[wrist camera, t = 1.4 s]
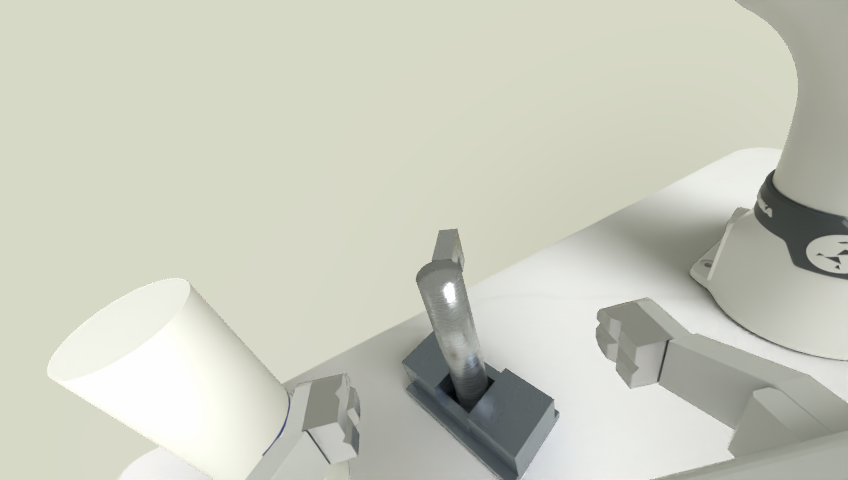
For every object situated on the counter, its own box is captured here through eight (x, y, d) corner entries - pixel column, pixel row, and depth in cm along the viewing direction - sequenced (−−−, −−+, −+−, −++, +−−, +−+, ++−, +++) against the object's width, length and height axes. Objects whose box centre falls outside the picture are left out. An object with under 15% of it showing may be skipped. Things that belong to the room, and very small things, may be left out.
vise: (407, 393, 38) (395, 368, 35) (453, 345, 42) (444, 319, 39) (513, 491, 28) (507, 469, 25) (560, 417, 32) (559, 390, 29)
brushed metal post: (492, 417, 33) (458, 290, 22) (458, 415, 34) (411, 292, 23) (493, 352, 38) (467, 227, 28) (464, 351, 39) (429, 231, 29)
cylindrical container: (363, 462, 33) (213, 288, 19) (315, 548, 29) (70, 403, 14) (315, 434, 37) (159, 270, 23) (265, 506, 32) (31, 356, 18)
